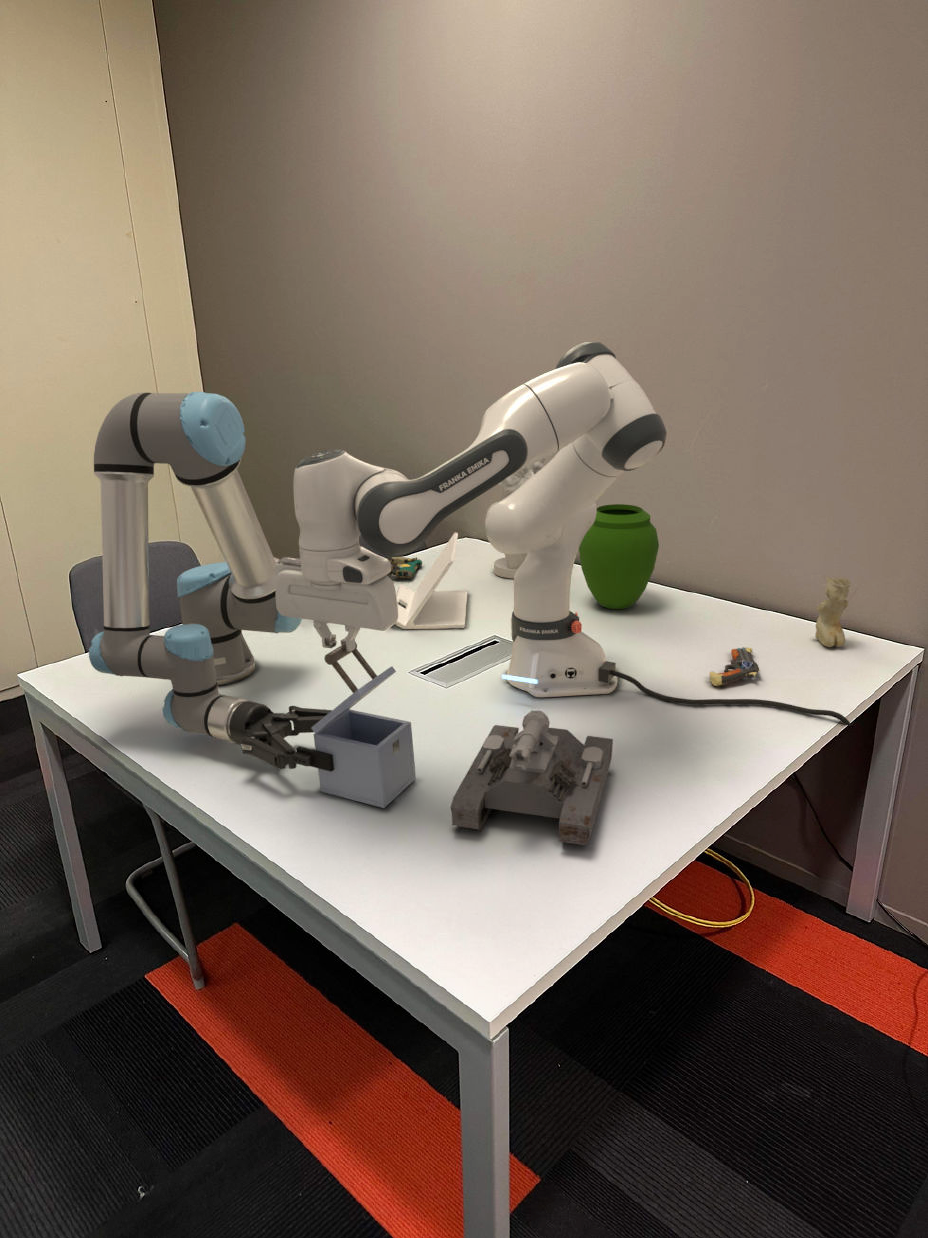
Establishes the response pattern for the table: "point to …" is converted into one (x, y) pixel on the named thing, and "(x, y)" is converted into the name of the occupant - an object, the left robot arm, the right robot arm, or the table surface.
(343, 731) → the chest
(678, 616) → the table surface
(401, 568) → the spray gun
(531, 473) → the bust sculpture
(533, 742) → the toy
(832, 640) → the sculpture
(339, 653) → the lid
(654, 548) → the vase
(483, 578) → the table surface
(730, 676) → the toy gun
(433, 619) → the tablet stand
